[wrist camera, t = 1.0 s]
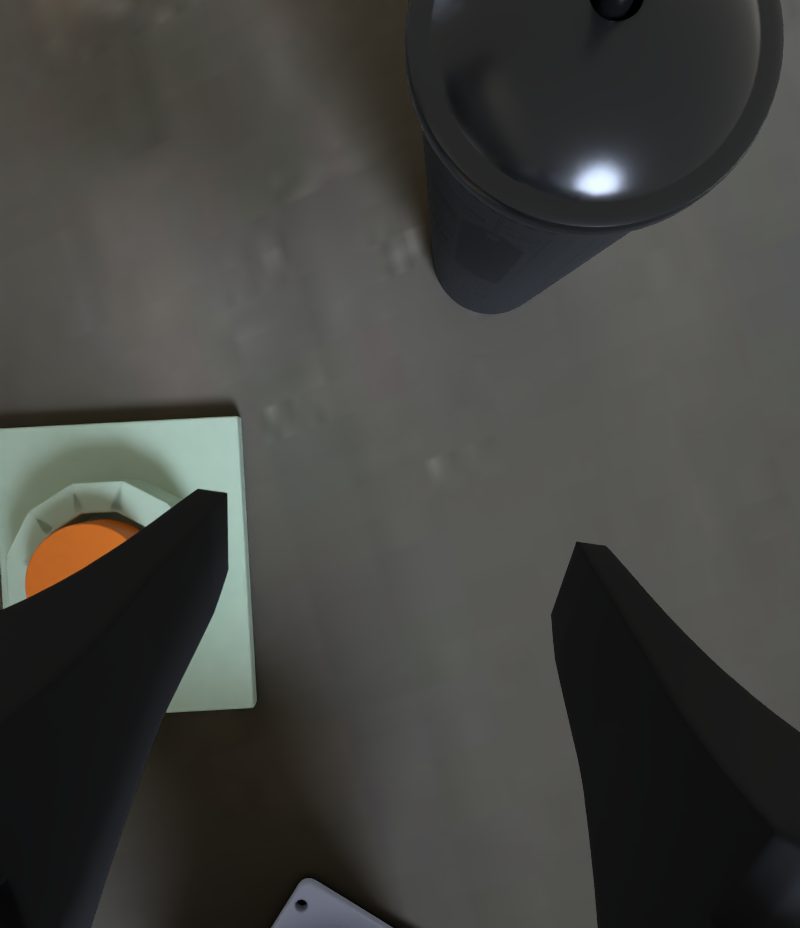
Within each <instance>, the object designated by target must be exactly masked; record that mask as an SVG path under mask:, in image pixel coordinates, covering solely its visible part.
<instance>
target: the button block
mask: <svg viewBox="0 0 800 928" xmlns="http://www.w3.org/2000/svg"><path fill="white" fill-rule="evenodd" d="M197 489H204V490H211V491H218V492H225V493H227V498H228V565H229V570H228V573H227V576H226V579H225V582H224V586H223V589H222V592H221V595H220V598H219V600H218V603H217V606H216V609H215V612H214V614H213V616H212V618H211V621H210V623H209V625H208V627H207V629H206V631H205V633H204V635H203V637H202V639H201V641H200V643H199V645H198V648H197V650H196V652H195V654H194V656H193V658H192V660H191V662H190V664H189V666H188V668H187V670H186V672H185V674H184V676H183V678H182V680H181V682H180V684H179V686H178V688H177V690H176V692H175V694H174V696H173V698H172V700H171V702H170V704H169V707H168V709H167V711H166V713H172V712H190V711H207V710H225V709H243V708H253V707H254V706H255V704H256V702H257V693H256V675H255V658H254V640H253V622H252V604H251V587H250V569H249V551H248V533H247V516H246V498H245V480H244V462H243V445H242V427H241V417H238V416H223V417H205V418H186V419H167V420H149V421H130V422H111V423H93V424H74V425H55V426H37V427H18V428H0V568H1V584H2V601H3V609H4V608H7V607H9V606H11V605H13V604H16V603H18V602H20V601H22V600H25V599H27V597H26V591H25V577H26V571H27V567H28V564H29V561H30V559H31V557H32V555H33V553H34V552H35V550H36V549H37V547H38V546H39V545H40V543H41V542H42V541H43V540H44V539H45V538H46V537H48V536H49V535H50V534H52V533H53V532H55V531H57V530H59V529H61V528H63V527H66V526H69V525H73V524H77V523H82V522H87V521H92V520H97V519H114V520H119V521H123V522H126V523H128V524H131V525H133V526H134V527H136V528H138V529H139V530H142V529H143V528H145V527H146V526H147V525H149V524H150V523H152V522H153V521H154V520H156V519H157V518H158V517H160V516H161V515H162V514H164V513H165V512H166V511H168V510H169V509H170V508H172V507H173V506H174V505H176V504H177V503H179V502H180V501H181V500H183V499H184V498H185V497H187V496H188V495H190V494H191V493H192V492H194V491H195V490H197Z"/></svg>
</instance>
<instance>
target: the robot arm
mask: <svg viewBox="0 0 800 928" xmlns="http://www.w3.org/2000/svg"><path fill="white" fill-rule="evenodd" d="M228 570H229V565H228V498H227V493H225V492H218V491H211V490H204V489H197V490H195V491H194V492H192V493H191V494H190V495H188V496H187V497H185V498H184V499H183V500H181V501H180V502H179V503H177V504H176V505H174V506H173V507H172V508H170V509H169V510H168V511H166V512H165V513H164V514H162V515H161V516H160V517H158V518H157V519H156V520H154V521H153V522H152V523H150V524H149V525H147V526H146V527H145V528H143V529H142V530H140V531H139V532H137V533H136V534H135V535H133V536H132V537H130V538H129V539H128V540H126V541H125V542H123V543H122V544H120V545H119V546H117V547H116V548H114V549H112V550H111V551H109V552H108V553H106V554H105V555H103V556H102V557H100V558H98V559H97V560H95V561H94V562H92V563H91V564H89V565H87V566H86V567H84V568H83V569H81V570H79V571H77V572H76V573H74V574H72V575H70V576H69V577H67V578H65V579H63V580H61V581H60V582H58V583H56V584H54V585H52V586H50V587H48V588H46V589H44V590H42V591H40V592H39V593H37V594H35V595H33V596H31V597H29V598H27V599H25V600H22V601H20V602H18V603H16V604H13V605H11V606H9V607H7V608H4V609H2V610H0V928H91V926H92V923H93V919H94V916H95V913H96V910H97V907H98V903H99V900H100V897H101V894H102V890H103V887H104V884H105V881H106V878H107V875H108V872H109V869H110V866H111V863H112V860H113V857H114V854H115V851H116V848H117V845H118V842H119V839H120V836H121V833H122V830H123V827H124V824H125V821H126V818H127V815H128V813H129V810H130V807H131V804H132V801H133V798H134V795H135V793H136V790H137V787H138V784H139V781H140V778H141V776H142V773H143V770H144V767H145V765H146V762H147V759H148V757H149V754H150V751H151V748H152V746H153V743H154V740H155V738H156V735H157V732H158V730H159V727H160V725H161V723H162V720H163V718H164V716H165V713H166V711H167V709H168V707H169V704H170V702H171V700H172V698H173V696H174V694H175V692H176V690H177V688H178V686H179V684H180V682H181V680H182V678H183V676H184V674H185V672H186V670H187V668H188V666H189V664H190V662H191V660H192V658H193V656H194V654H195V652H196V650H197V648H198V645H199V643H200V641H201V639H202V637H203V635H204V633H205V631H206V629H207V627H208V625H209V623H210V621H211V618H212V616H213V614H214V612H215V609H216V606H217V603H218V600H219V598H220V595H221V592H222V589H223V586H224V582H225V579H226V576H227V573H228ZM551 619H552V632H553V643H554V653H555V661H556V666H557V670H558V675H559V679H560V684H561V688H562V693H563V697H564V701H565V706H566V710H567V714H568V718H569V723H570V727H571V731H572V736H573V740H574V744H575V749H576V753H577V757H578V762H579V767H580V772H581V778H582V783H583V790H584V798H585V806H586V814H587V822H588V830H589V839H590V849H591V858H592V868H593V877H594V887H595V899H596V911H597V924H598V928H800V732H799V731H797V730H796V729H795V728H793V727H792V726H791V725H789V724H788V723H787V722H785V721H784V720H783V719H781V718H780V717H779V716H777V715H776V714H775V713H773V712H772V711H771V710H770V709H768V708H767V707H766V706H765V705H763V704H762V703H761V702H760V701H758V700H757V699H756V698H755V697H753V696H752V695H751V694H750V693H749V692H748V691H747V690H745V689H744V688H743V687H742V686H741V685H740V684H738V683H737V682H736V681H735V680H734V679H733V678H731V677H730V676H729V675H728V674H727V673H726V672H724V671H723V670H722V669H721V668H720V667H719V666H718V665H717V664H716V663H715V662H714V661H713V660H711V659H710V658H709V657H708V656H707V655H706V654H705V653H704V652H703V651H702V650H701V649H700V648H699V647H698V646H697V645H696V644H695V643H694V642H693V641H692V640H691V639H690V638H689V637H688V636H687V635H686V634H685V633H684V632H683V631H682V630H681V629H680V628H679V627H678V626H677V625H676V624H675V622H674V621H673V620H672V619H671V618H670V617H669V616H668V615H667V614H666V613H665V612H664V611H663V610H662V608H661V607H660V606H659V605H658V604H657V603H656V602H655V601H654V600H653V598H652V597H651V596H650V595H649V594H648V593H647V592H646V591H645V589H644V588H643V587H642V586H641V585H640V584H639V583H638V581H637V580H636V579H635V578H634V577H633V576H632V574H631V573H630V572H629V571H628V570H627V569H626V568H625V566H624V565H623V564H622V563H621V562H620V561H619V560H618V558H617V557H616V556H615V555H614V554H613V553H612V552H611V551H610V550H609V549H608V548H607V547H606V546H603V545H596V544H589V543H581V542H576V545H575V548H574V551H573V554H572V556H571V559H570V562H569V565H568V568H567V571H566V574H565V576H564V579H563V582H562V585H561V588H560V591H559V594H558V596H557V599H556V602H555V605H554V608H553V611H552V613H551ZM298 900H305V901H306V902H307V904H306V905H303V906H302V905H299V904H298V903H297V901H298ZM271 928H393V927H391V926H390V925H388V924H386V923H385V922H383V921H381V920H380V919H378V918H377V917H375V916H373V915H372V914H370V913H368V912H367V911H365V910H364V909H362V908H360V907H359V906H357V905H355V904H354V903H352V902H351V901H349V900H347V899H346V898H344V897H342V896H341V895H339V894H338V893H336V892H334V891H333V890H331V889H329V888H328V887H326V886H324V885H323V884H321V883H320V882H318V881H316V880H314V879H312V878H306V879H303V880H302V881H301V882H300V883H299V884H298V885H297V887H296V889H295V890H294V892H293V893H292V895H291V897H290V898H289V900H288V901H287V903H286V905H285V906H284V908H283V909H282V911H281V913H280V914H279V916H278V917H277V919H276V921H275V922H274V924H273V925H272V927H271Z"/></svg>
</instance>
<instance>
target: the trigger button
mask: <svg viewBox="0 0 800 928" xmlns="http://www.w3.org/2000/svg"><path fill="white" fill-rule="evenodd" d="M139 531H140V530H139V529H138V528H136V527H134V526H133V525H131V524H128V523H126V522H123V521H119V520H114V519H97V520H92V521H87V522H82V523H77V524H73V525H69V526H66V527H63V528H61V529H59V530H57V531H55V532H53V533H52V534H50V535H49V536H48V537H46V538H45V539H44V540H43V541H42V542H41V543H40V545H39V546H38V547H37V549H36V550H35V552H34V553H33V555H32V557H31V559H30V561H29V564H28V567H27V571H26V577H25V591H26V597H27V598H29V597H31V596H33V595H35V594H37V593H39V592H40V591H42V590H44V589H46V588H48V587H50V586H52V585H54V584H56V583H58V582H60V581H61V580H63V579H65V578H67V577H69V576H70V575H72V574H74V573H76V572H77V571H79V570H81V569H83V568H84V567H86V566H87V565H89V564H91V563H92V562H94V561H95V560H97V559H98V558H100V557H102V556H103V555H105V554H106V553H108V552H109V551H111V550H112V549H114V548H116V547H117V546H119V545H120V544H122V543H123V542H125V541H126V540H128V539H129V538H130V537H132V536H133V535H135V534H136V533H137V532H139Z"/></svg>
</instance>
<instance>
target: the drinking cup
mask: <svg viewBox="0 0 800 928" xmlns="http://www.w3.org/2000/svg"><path fill="white" fill-rule="evenodd" d="M783 42H784V38H783V18H782V9H781V3H780V0H409V3H408V9H407V15H406V26H405V67H406V74H407V82H408V87H409V91H410V96H411V100H412V103H413V106H414V109H415V112H416V115H417V118H418V120H419V123H420V125H421V127H422V129H423V141H424V153H425V165H426V177H427V189H428V202H429V214H430V226H431V238H432V250H433V262H434V268H435V272H436V275H437V278H438V280H439V282H440V284H441V286H442V287H443V289H444V290H445V292H446V293H447V294H448V295H449V296H450V297H451V298H452V299H453V300H454V301H455V302H457V303H458V304H460V305H461V306H463V307H465V308H467V309H469V310H472V311H475V312H479V313H485V314H497V313H504V312H507V311H510V310H513V309H515V308H517V307H519V306H521V305H522V304H524V303H525V302H527V301H528V300H530V299H531V298H533V297H534V296H536V295H537V294H539V293H540V292H542V291H543V290H545V289H546V288H548V287H549V286H551V285H552V284H554V283H555V282H557V281H558V280H560V279H561V278H562V277H564V276H565V275H567V274H568V273H570V272H571V271H573V270H574V269H576V268H577V267H579V266H580V265H582V264H583V263H585V262H586V261H588V260H589V259H591V258H592V257H594V256H595V255H596V254H598V253H599V252H601V251H602V250H604V249H605V248H607V247H608V246H610V245H611V244H613V243H614V242H616V241H617V240H619V239H620V238H622V237H623V236H625V235H626V234H628V233H629V232H631V231H634V230H638V229H641V228H644V227H647V226H650V225H653V224H656V223H658V222H660V221H663V220H665V219H667V218H670V217H671V216H674V215H675V214H677V213H679V212H680V211H682V210H684V209H686V208H687V207H689V206H690V205H692V204H693V203H695V202H696V201H697V200H699V199H700V198H702V197H703V196H704V195H706V194H707V193H708V192H709V191H710V190H712V189H713V188H714V187H715V186H716V185H717V184H719V183H720V182H721V181H722V180H723V179H724V178H725V177H726V176H727V175H728V174H729V173H730V172H731V171H732V170H733V168H734V167H735V166H736V165H737V164H738V163H739V161H740V160H741V159H742V158H743V156H744V155H745V154H746V153H747V151H748V150H749V148H750V147H751V145H752V143H753V142H754V140H755V139H756V137H757V135H758V134H759V132H760V130H761V128H762V126H763V124H764V122H765V120H766V118H767V115H768V113H769V110H770V107H771V105H772V102H773V99H774V96H775V92H776V88H777V85H778V81H779V77H780V71H781V65H782V57H783Z"/></svg>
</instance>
